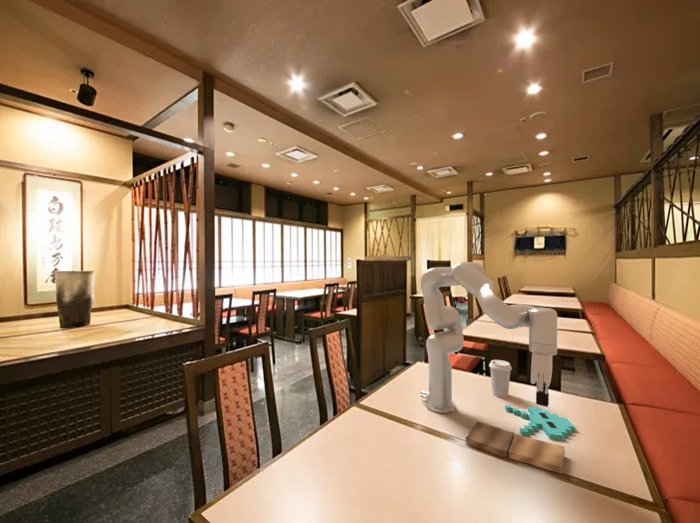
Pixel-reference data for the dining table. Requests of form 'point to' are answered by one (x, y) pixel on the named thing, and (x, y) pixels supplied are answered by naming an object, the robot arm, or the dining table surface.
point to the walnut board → (490, 439)
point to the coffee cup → (500, 377)
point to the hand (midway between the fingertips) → (542, 404)
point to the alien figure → (543, 423)
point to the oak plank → (537, 453)
